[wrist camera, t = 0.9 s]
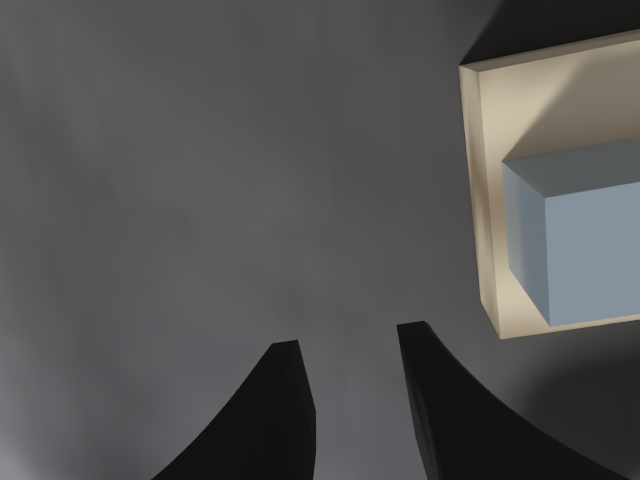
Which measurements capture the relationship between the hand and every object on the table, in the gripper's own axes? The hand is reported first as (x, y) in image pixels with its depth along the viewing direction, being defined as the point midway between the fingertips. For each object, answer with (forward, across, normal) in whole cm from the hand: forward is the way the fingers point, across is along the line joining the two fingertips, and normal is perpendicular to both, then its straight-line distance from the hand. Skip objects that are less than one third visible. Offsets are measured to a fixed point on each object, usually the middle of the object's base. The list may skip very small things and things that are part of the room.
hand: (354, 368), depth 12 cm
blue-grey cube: (+7, -8, 0) cm, 11 cm away
